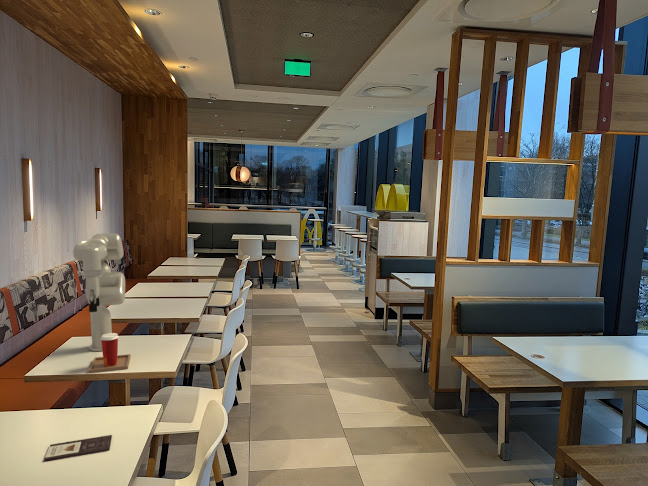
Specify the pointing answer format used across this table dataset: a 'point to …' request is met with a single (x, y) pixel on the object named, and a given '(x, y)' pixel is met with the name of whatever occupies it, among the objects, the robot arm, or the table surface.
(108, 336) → the paper cup
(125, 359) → the tray
